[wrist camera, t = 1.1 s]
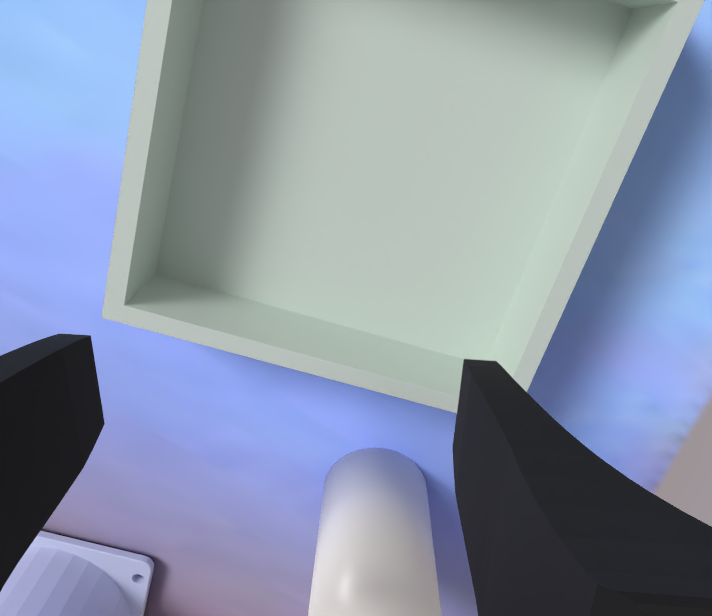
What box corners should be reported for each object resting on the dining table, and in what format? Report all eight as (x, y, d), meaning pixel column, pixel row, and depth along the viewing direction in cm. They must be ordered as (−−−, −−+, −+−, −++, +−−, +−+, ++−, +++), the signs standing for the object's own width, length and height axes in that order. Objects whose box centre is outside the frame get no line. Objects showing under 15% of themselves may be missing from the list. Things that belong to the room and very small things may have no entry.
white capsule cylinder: (408, 542, 26) (418, 701, 20) (312, 518, 26) (291, 671, 20) (441, 462, 25) (463, 608, 18) (339, 436, 25) (325, 574, 18)
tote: (491, 375, 23) (510, 427, 20) (141, 278, 22) (101, 317, 19) (653, -6, 18) (712, -18, 15) (213, -152, 17) (176, -199, 14)
